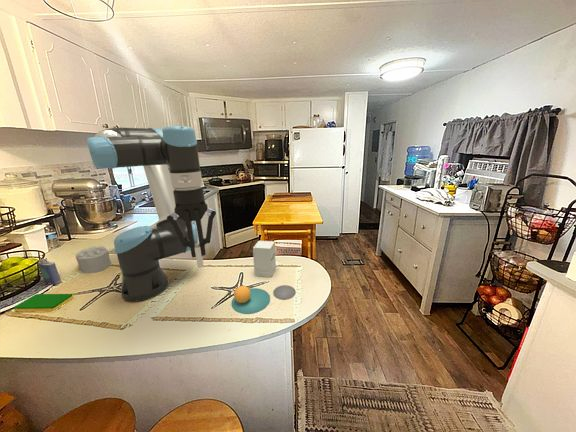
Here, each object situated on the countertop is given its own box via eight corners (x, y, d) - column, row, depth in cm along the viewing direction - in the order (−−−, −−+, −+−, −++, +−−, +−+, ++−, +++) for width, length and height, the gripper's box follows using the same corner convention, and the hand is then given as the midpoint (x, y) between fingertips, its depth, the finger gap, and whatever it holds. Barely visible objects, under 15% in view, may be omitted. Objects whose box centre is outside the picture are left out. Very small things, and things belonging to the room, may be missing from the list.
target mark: (233, 318, 69) (233, 317, 68) (229, 293, 80) (229, 293, 80) (274, 307, 72) (274, 307, 72) (265, 285, 84) (265, 285, 84)
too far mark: (276, 301, 75) (276, 301, 75) (270, 288, 82) (270, 288, 82) (298, 296, 78) (298, 295, 78) (291, 283, 85) (291, 283, 85)
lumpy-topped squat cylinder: (105, 258, 109) (100, 242, 107) (116, 265, 102) (111, 248, 100) (77, 268, 101) (71, 250, 99) (87, 276, 94) (81, 258, 92)
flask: (63, 282, 91) (54, 258, 87) (54, 286, 88) (44, 262, 85) (51, 278, 94) (41, 255, 91) (41, 281, 91) (31, 258, 88)
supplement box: (271, 277, 89) (270, 248, 86) (254, 275, 91) (251, 247, 87) (276, 268, 96) (275, 241, 93) (260, 266, 98) (258, 240, 94)
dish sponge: (55, 313, 74) (52, 307, 73) (15, 313, 74) (12, 307, 74) (75, 299, 81) (73, 293, 80) (38, 299, 81) (35, 293, 80)
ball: (253, 303, 75) (237, 308, 73) (247, 294, 80) (232, 298, 77) (252, 289, 73) (236, 294, 71) (247, 280, 78) (231, 285, 75)
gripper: (158, 192, 55) (175, 276, 62) (213, 188, 59) (223, 267, 66) (163, 187, 62) (178, 263, 69) (213, 184, 66) (222, 256, 73)
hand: (200, 265), depth 67 cm, fingers closed
